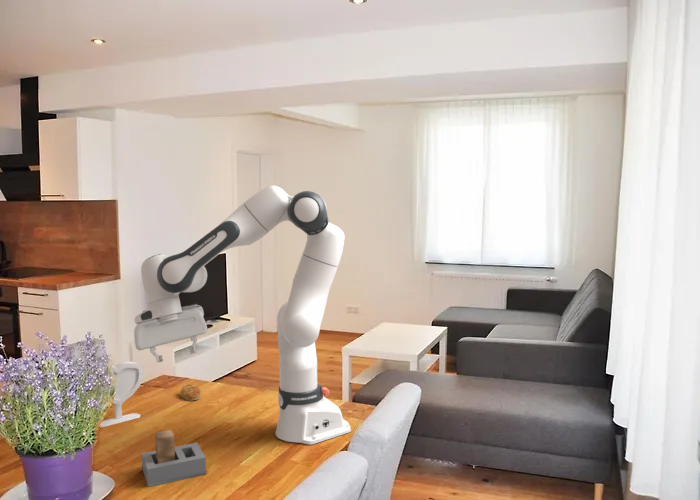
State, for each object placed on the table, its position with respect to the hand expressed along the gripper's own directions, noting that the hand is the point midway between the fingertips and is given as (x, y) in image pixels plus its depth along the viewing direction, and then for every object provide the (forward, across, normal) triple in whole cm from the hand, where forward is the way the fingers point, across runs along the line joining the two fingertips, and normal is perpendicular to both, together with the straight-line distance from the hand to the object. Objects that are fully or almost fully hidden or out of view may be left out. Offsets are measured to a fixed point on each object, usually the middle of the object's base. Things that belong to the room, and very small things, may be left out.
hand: (176, 357), depth 171 cm
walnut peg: (+28, +11, +11) cm, 32 cm away
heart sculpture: (+14, +17, -31) cm, 38 cm away
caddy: (+28, +9, +11) cm, 32 cm away
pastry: (+14, -8, -42) cm, 45 cm away
